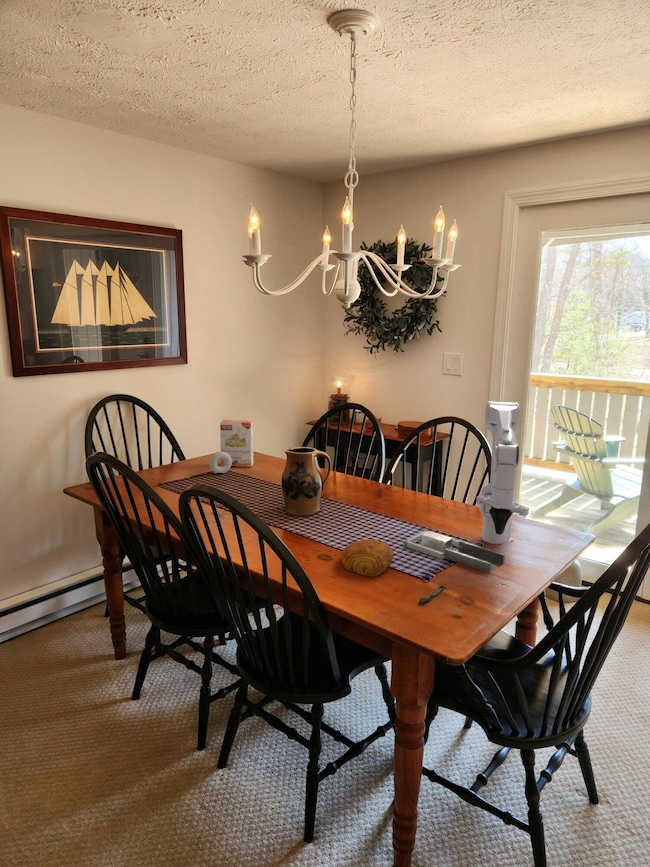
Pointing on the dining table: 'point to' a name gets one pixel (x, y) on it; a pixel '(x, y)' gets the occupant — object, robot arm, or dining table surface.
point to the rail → (476, 556)
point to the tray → (412, 544)
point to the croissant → (367, 557)
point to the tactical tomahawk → (432, 594)
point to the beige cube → (428, 539)
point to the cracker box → (237, 441)
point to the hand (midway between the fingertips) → (499, 533)
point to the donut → (218, 456)
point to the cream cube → (442, 543)
